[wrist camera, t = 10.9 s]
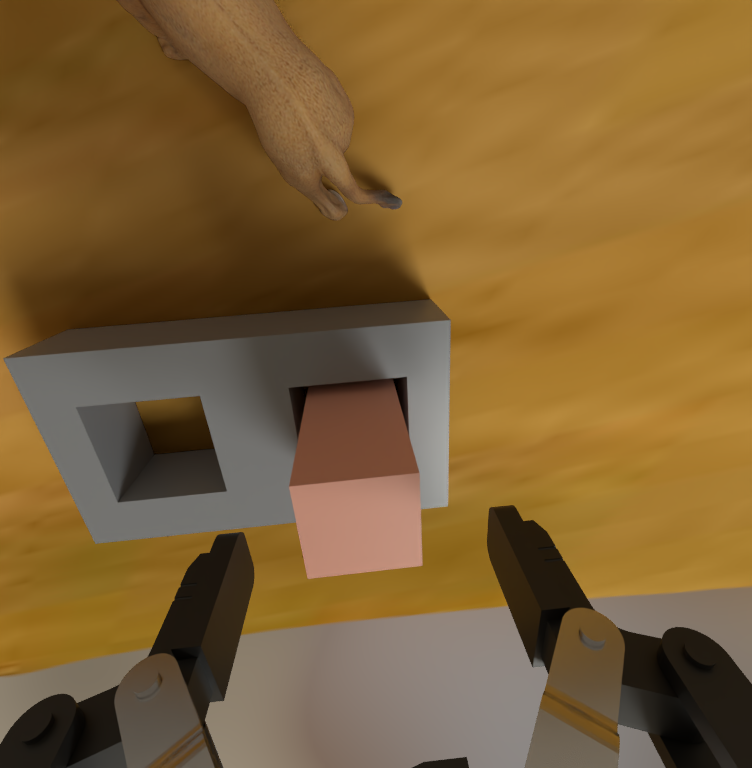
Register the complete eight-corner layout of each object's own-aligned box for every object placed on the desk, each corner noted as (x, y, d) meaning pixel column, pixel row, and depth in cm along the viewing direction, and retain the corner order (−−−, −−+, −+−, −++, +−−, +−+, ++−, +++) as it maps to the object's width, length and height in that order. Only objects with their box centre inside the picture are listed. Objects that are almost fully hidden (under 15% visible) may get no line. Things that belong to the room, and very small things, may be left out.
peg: (386, 358, 21) (419, 472, 12) (390, 422, 23) (422, 565, 14) (312, 365, 21) (288, 486, 12) (322, 429, 23) (308, 578, 14)
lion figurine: (43, 0, 14) (-355, -270, 6) (101, -168, 13) (-330, -830, 5) (366, 251, 19) (384, 287, 11) (438, 149, 17) (523, 99, 9)
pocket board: (430, 299, 20) (450, 320, 16) (432, 460, 24) (447, 506, 20) (67, 329, 19) (3, 358, 16) (134, 491, 23) (95, 543, 20)
